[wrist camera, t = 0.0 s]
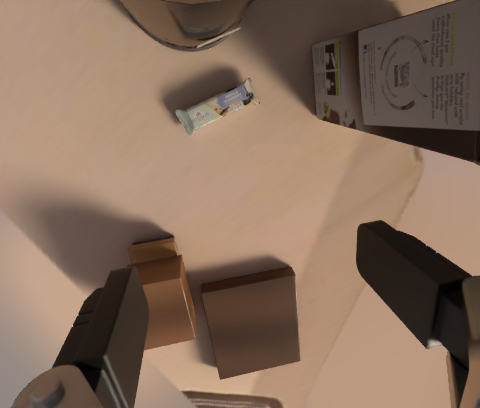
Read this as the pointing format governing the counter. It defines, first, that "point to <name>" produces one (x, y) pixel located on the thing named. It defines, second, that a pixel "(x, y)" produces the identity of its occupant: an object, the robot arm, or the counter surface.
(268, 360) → the board
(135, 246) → the stepped wooden block
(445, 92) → the coffee box
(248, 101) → the granola bar
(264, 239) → the counter surface
